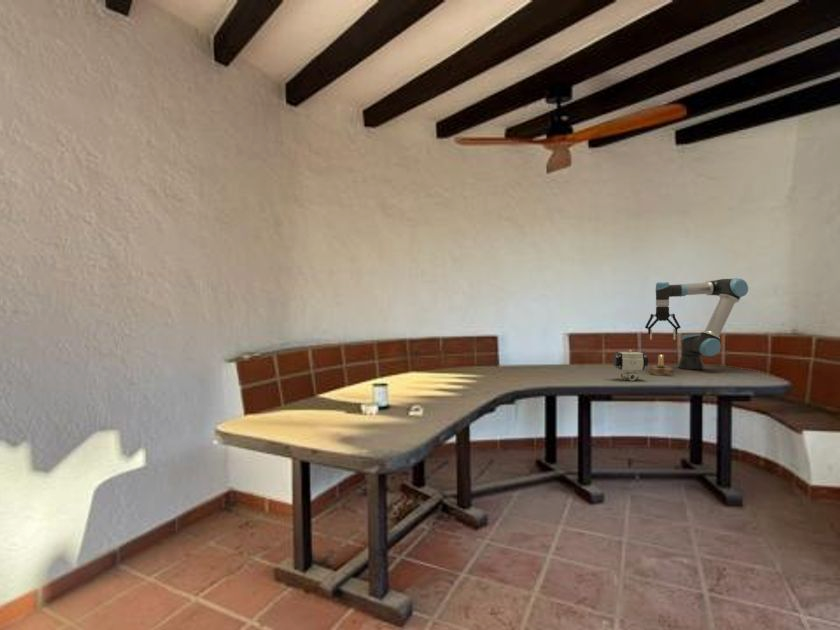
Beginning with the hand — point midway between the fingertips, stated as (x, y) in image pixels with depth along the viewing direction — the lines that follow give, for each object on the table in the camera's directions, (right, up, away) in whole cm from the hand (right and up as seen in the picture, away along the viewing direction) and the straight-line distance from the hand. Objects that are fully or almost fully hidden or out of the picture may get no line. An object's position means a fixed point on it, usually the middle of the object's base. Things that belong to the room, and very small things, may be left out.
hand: (662, 339), depth 307 cm
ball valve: (-32, -23, -25) cm, 47 cm away
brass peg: (-3, -22, -3) cm, 22 cm away
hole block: (-3, -22, -3) cm, 22 cm away
